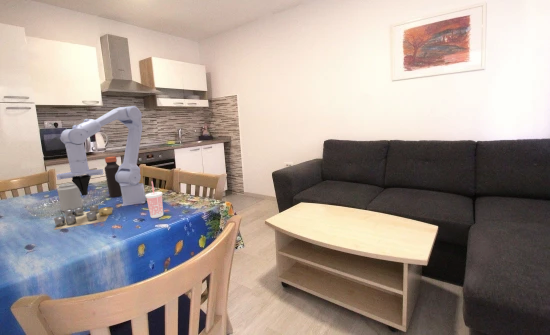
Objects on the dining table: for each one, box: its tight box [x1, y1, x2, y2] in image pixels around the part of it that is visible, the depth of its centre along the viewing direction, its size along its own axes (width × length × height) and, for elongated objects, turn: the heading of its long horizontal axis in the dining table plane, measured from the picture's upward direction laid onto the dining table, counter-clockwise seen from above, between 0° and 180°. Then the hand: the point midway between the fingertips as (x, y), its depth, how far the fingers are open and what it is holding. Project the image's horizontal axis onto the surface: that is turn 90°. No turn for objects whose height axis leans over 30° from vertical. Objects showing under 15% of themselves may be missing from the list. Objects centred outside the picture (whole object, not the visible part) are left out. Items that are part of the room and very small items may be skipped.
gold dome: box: [99, 206, 113, 217], centre depth 108 cm, size 4×4×2 cm
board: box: [53, 207, 114, 231], centre depth 105 cm, size 16×17×1 cm
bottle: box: [104, 156, 122, 198], centre depth 136 cm, size 7×7×20 cm
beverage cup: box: [145, 180, 164, 219], centre depth 104 cm, size 6×6×14 cm
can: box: [56, 182, 84, 212], centre depth 116 cm, size 8×8×12 cm
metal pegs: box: [53, 204, 100, 228], centre depth 104 cm, size 13×13×3 cm
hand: (84, 194), depth 104 cm, fingers closed
